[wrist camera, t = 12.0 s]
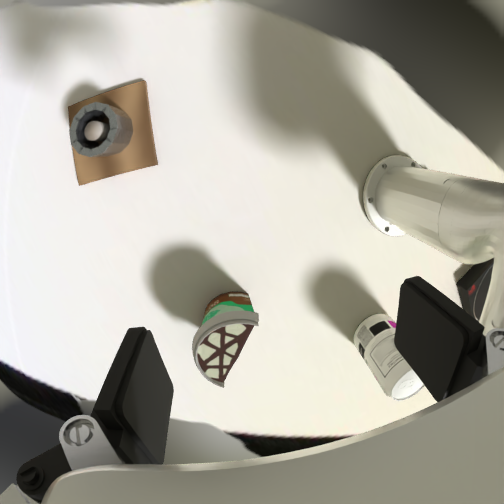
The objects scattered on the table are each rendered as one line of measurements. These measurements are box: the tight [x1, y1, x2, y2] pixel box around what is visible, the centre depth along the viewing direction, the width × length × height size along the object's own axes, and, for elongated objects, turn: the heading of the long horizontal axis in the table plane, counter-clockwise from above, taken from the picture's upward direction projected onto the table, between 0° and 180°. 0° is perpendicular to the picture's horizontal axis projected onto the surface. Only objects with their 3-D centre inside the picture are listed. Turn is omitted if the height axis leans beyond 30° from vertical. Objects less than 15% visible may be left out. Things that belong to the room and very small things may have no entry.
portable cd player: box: [457, 258, 494, 322], centre depth 47 cm, size 16×17×4 cm
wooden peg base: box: [68, 80, 158, 186], centre depth 31 cm, size 12×12×6 cm
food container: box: [192, 292, 259, 388], centre depth 39 cm, size 12×6×10 cm, turn 156°
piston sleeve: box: [70, 102, 133, 157], centre depth 30 cm, size 6×6×6 cm
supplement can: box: [354, 313, 425, 401], centre depth 41 cm, size 8×8×15 cm
